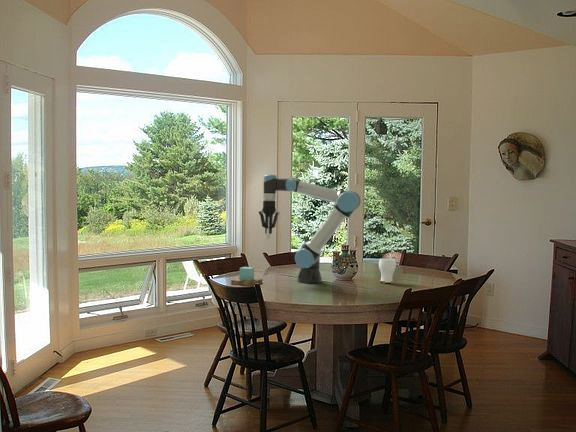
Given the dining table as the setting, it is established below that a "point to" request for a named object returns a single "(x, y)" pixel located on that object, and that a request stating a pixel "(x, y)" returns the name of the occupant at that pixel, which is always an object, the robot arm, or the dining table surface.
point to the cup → (387, 269)
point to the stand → (246, 282)
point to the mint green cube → (246, 273)
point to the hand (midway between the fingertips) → (268, 239)
